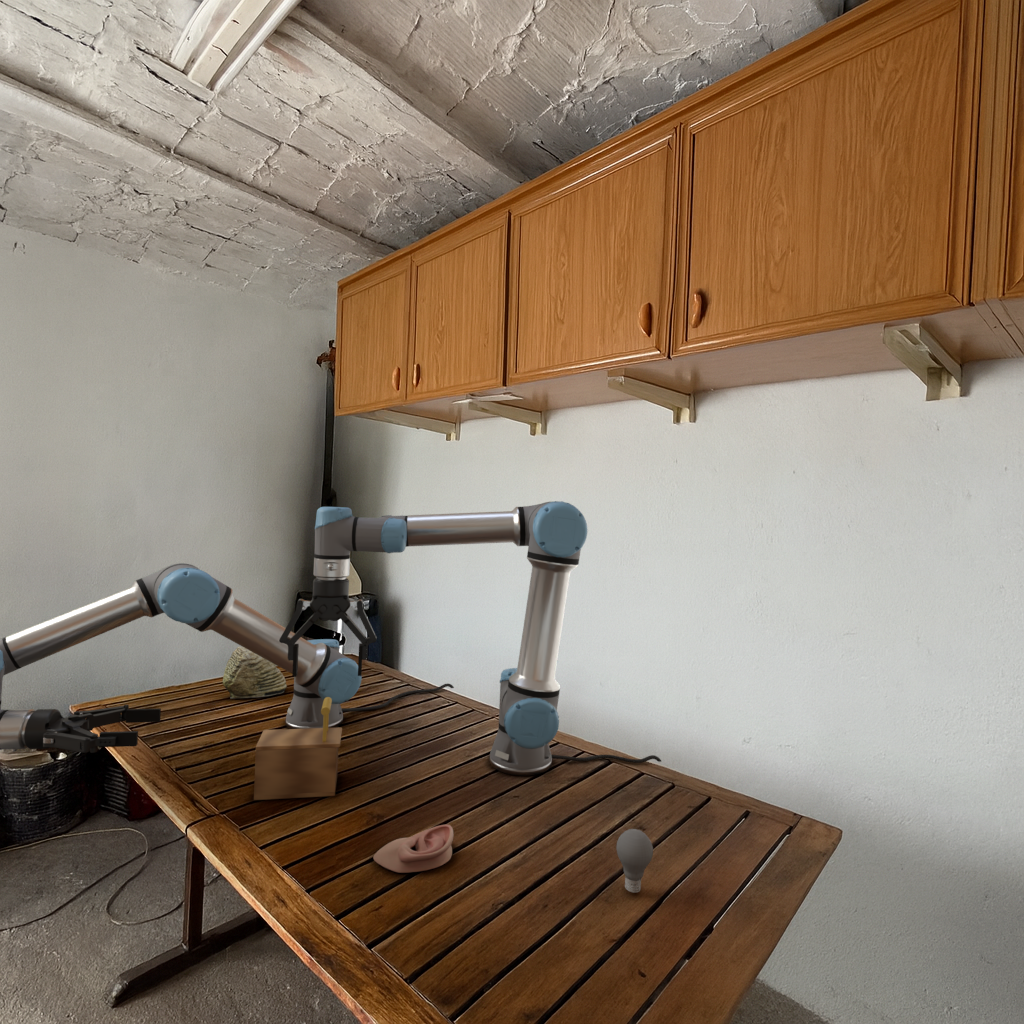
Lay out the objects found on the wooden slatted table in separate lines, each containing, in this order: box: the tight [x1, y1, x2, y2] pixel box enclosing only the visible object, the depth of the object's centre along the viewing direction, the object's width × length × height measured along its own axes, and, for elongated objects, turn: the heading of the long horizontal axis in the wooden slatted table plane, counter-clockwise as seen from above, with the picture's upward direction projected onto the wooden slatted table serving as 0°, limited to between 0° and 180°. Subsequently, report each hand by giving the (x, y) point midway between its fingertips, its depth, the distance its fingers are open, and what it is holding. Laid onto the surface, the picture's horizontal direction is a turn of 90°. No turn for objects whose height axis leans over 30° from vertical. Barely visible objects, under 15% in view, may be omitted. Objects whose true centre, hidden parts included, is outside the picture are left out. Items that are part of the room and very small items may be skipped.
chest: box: [253, 747, 339, 801], centre depth 137 cm, size 16×10×10 cm, turn 102°
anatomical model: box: [372, 824, 455, 874], centre depth 113 cm, size 13×4×12 cm
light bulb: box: [615, 828, 654, 894], centre depth 106 cm, size 6×6×10 cm
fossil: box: [222, 646, 288, 699], centre depth 198 cm, size 9×18×15 cm, turn 132°
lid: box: [255, 697, 343, 751], centre depth 137 cm, size 17×10×8 cm, turn 102°
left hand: (149, 726), depth 131 cm, fingers open, 13 cm apart
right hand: (327, 674), depth 138 cm, fingers open, 13 cm apart
